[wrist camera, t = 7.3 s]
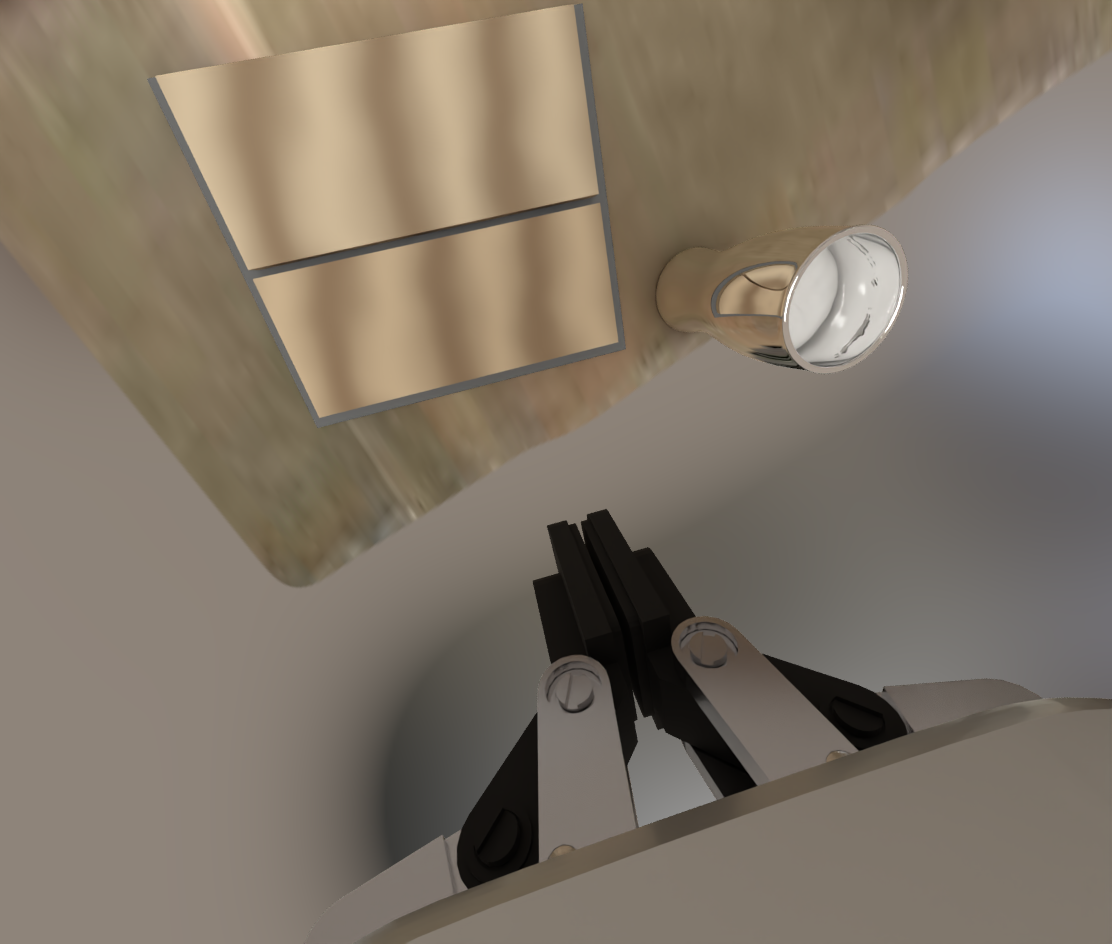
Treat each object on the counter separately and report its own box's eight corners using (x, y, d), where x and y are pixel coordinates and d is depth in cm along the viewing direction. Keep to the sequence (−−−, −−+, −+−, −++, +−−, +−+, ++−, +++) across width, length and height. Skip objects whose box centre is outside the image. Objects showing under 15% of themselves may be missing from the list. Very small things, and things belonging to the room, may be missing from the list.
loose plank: (593, 205, 29) (600, 202, 28) (612, 339, 33) (618, 342, 32) (262, 278, 27) (252, 279, 26) (325, 411, 31) (319, 417, 30)
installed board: (567, 18, 25) (573, 3, 24) (592, 197, 29) (598, 193, 28) (172, 87, 23) (155, 76, 22) (258, 270, 27) (248, 270, 26)
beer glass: (632, 284, 32) (755, 294, 19) (706, 218, 32) (889, 180, 18) (678, 355, 36) (811, 406, 22) (747, 297, 35) (928, 313, 21)
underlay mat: (580, 7, 25) (582, 3, 25) (624, 348, 34) (625, 349, 34) (151, 81, 23) (146, 78, 23) (319, 426, 32) (317, 427, 32)
